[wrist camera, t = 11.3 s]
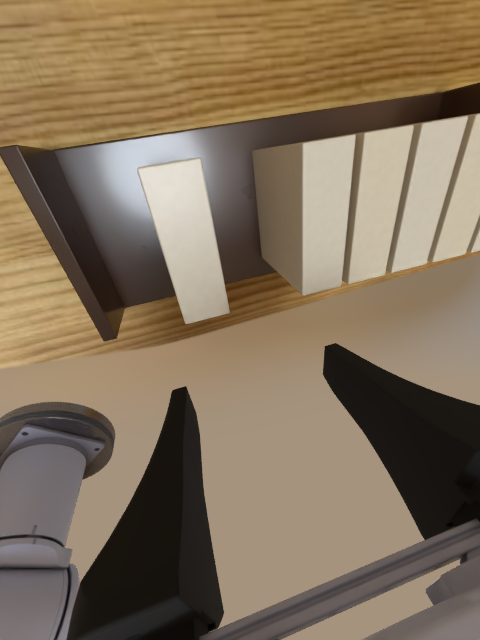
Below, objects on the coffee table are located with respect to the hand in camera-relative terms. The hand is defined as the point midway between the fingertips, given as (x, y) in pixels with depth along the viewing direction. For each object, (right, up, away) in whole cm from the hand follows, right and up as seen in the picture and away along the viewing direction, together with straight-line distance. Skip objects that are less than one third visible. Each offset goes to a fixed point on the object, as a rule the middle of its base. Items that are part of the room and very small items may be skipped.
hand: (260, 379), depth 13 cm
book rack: (+1, +12, +6) cm, 13 cm away
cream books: (+7, +12, +6) cm, 15 cm away
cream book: (-5, +9, +4) cm, 12 cm away
